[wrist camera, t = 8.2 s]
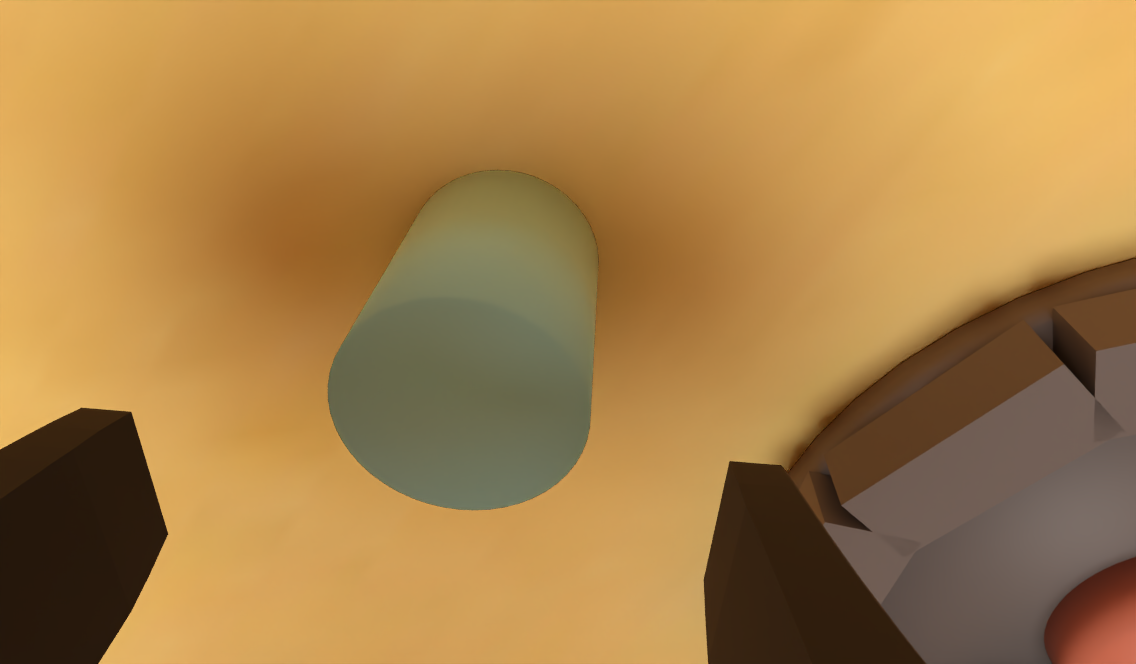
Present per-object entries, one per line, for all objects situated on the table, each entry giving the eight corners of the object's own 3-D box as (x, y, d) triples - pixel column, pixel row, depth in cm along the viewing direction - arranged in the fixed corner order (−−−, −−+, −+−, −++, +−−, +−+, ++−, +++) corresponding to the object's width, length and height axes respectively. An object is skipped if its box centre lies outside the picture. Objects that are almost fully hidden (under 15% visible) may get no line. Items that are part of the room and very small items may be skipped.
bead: (514, 373, 17) (478, 545, 12) (372, 264, 16) (278, 413, 11) (638, 259, 15) (646, 412, 11) (490, 128, 14) (433, 241, 10)
